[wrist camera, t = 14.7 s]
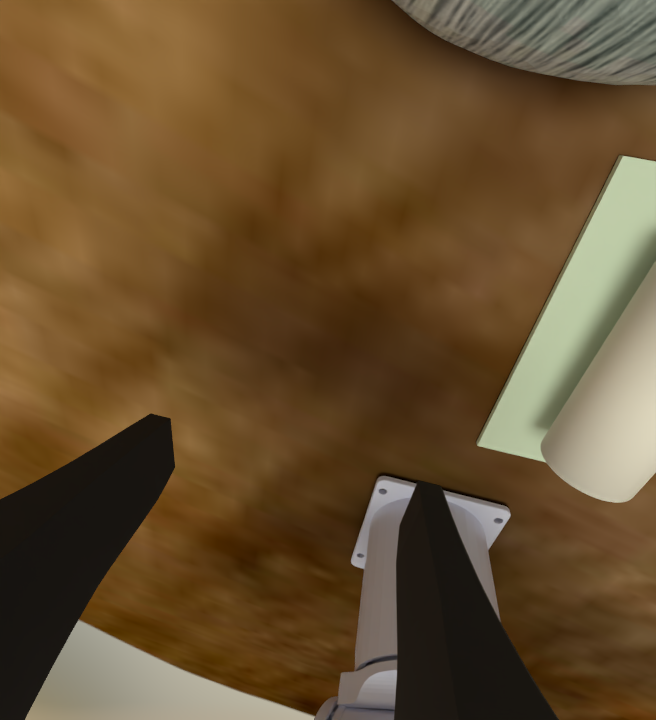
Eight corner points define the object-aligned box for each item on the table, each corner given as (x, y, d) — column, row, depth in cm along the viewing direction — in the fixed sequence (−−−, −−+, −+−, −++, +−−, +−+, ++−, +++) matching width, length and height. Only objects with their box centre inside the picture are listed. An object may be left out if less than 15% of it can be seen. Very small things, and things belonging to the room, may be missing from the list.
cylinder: (612, 445, 19) (653, 513, 16) (531, 425, 20) (554, 487, 16) (766, 247, 14) (877, 287, 11) (650, 224, 14) (722, 256, 11)
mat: (627, 478, 20) (630, 482, 20) (476, 441, 21) (477, 445, 21) (865, 199, 13) (874, 200, 13) (619, 155, 14) (623, 155, 13)
